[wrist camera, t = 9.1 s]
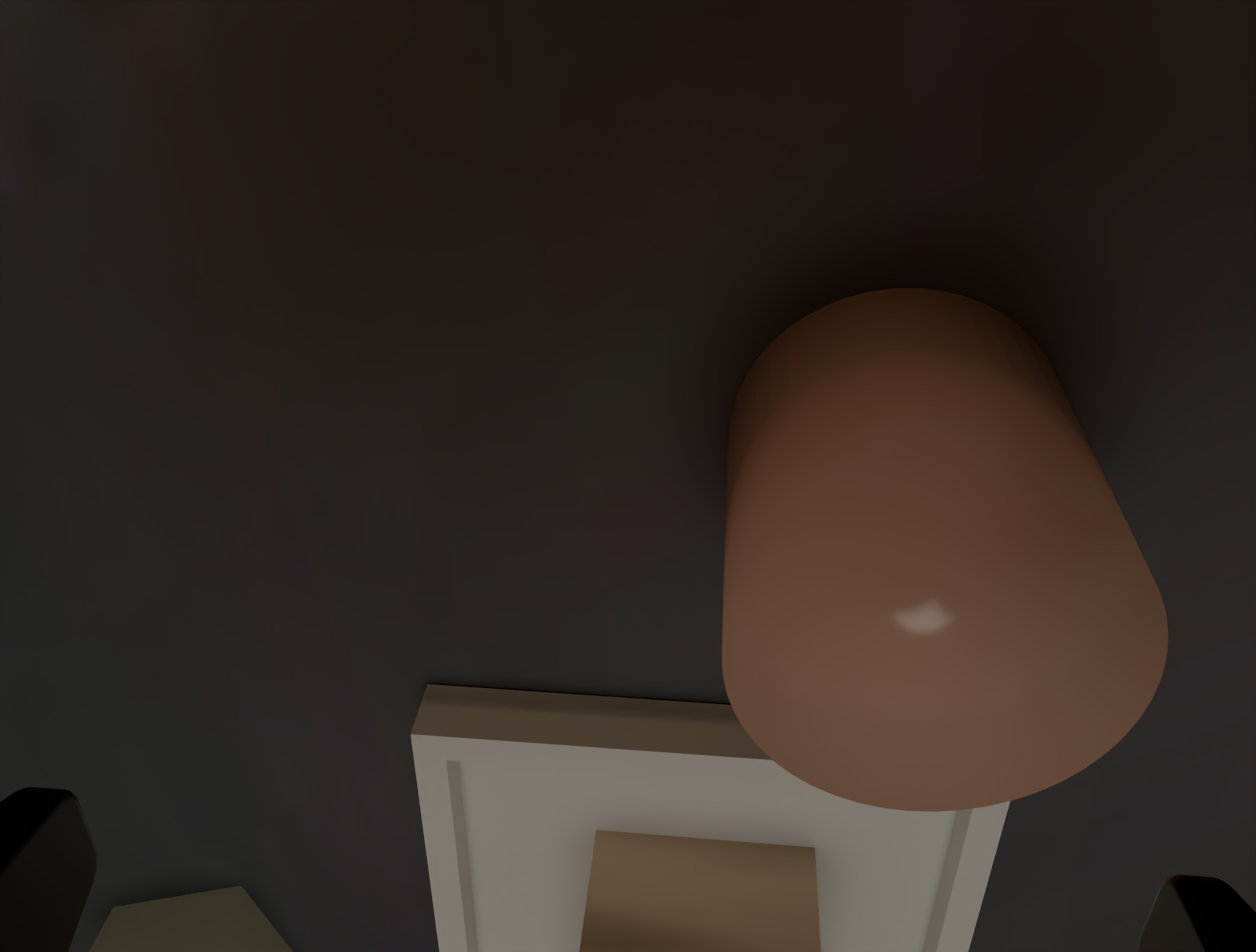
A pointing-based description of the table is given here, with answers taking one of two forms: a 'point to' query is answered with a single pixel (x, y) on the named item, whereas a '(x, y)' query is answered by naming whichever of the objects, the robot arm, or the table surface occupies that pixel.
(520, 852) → the tray
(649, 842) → the oak block
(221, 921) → the sage block
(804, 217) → the table surface
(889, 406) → the brown rounded cylinder
